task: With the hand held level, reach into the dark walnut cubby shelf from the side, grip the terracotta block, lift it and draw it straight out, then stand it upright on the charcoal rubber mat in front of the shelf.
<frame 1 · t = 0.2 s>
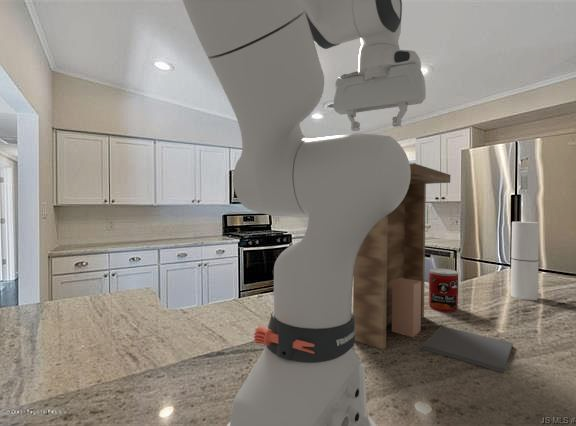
hand: (375, 128, 69), 47 cm above the countertop, tool pointing down, fingers open, 8 cm apart
block: (406, 306, 73), in the shelf
shelf: (406, 331, 73), on the countertop
cylindrical container: (523, 297, 102), on the countertop
mat: (468, 347, 65), on the countertop
canned food: (443, 308, 91), on the countertop
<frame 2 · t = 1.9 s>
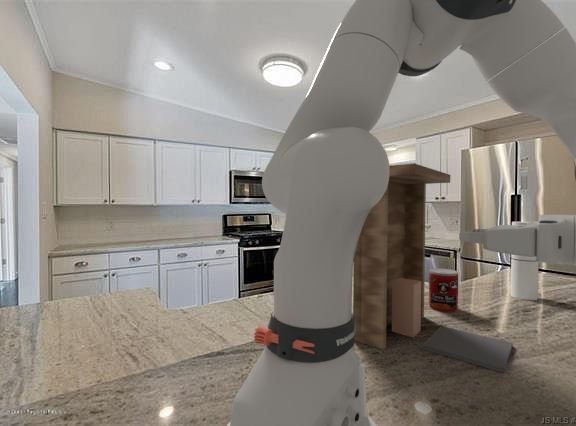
hand: (465, 234, 65), 24 cm above the countertop, tool horizontal, fingers open, 8 cm apart
nothing on the countertop moved.
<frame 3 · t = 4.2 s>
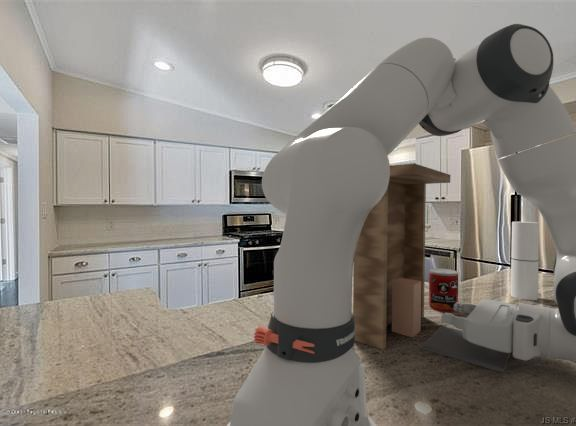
hand: (448, 311, 67), 7 cm above the countertop, tool horizontal, fingers open, 8 cm apart
nothing on the countertop moved.
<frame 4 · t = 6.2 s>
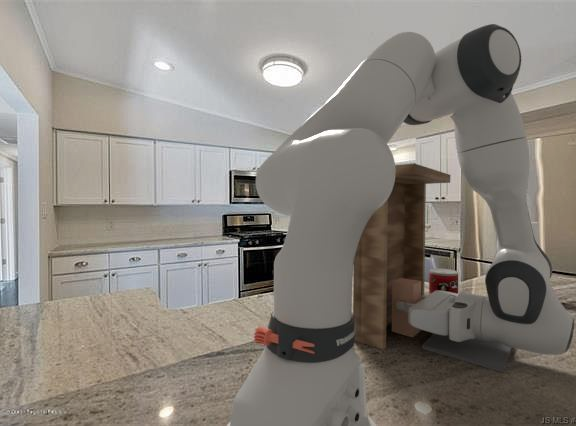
hand: (402, 301, 74), 7 cm above the countertop, tool horizontal, fingers closed on block, 5 cm apart
block: (406, 306, 73), in the shelf, touching gripper
everything else where it was.
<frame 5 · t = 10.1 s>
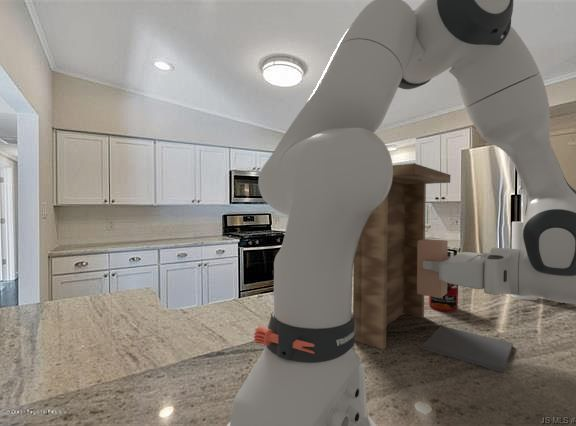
hand: (428, 262, 70), 17 cm above the countertop, tool horizontal, fingers closed on block, 5 cm apart
block: (432, 267, 69), point 16 cm above the countertop, touching gripper
everything else where it was.
when the fingers open (9 cm above the countertop, at t = 13.5 s): block drops 1 cm, resting on mat.
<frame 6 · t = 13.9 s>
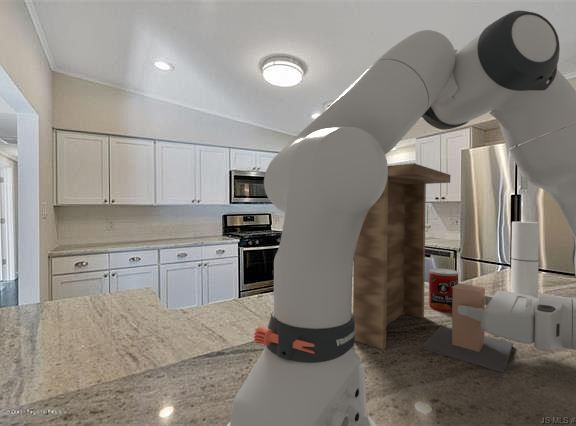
hand: (463, 303, 65), 9 cm above the countertop, tool horizontal, fingers open, 8 cm apart
block: (468, 315, 65), on the mat, point 7 cm above the countertop
everything else where it was.
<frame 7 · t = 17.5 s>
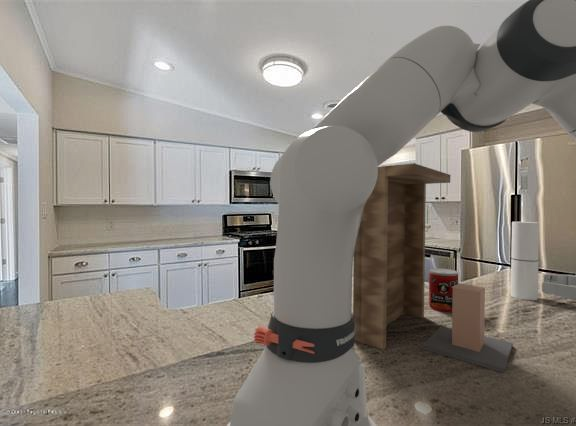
hand: (543, 282, 56), 16 cm above the countertop, tool horizontal, fingers open, 8 cm apart
nothing on the countertop moved.
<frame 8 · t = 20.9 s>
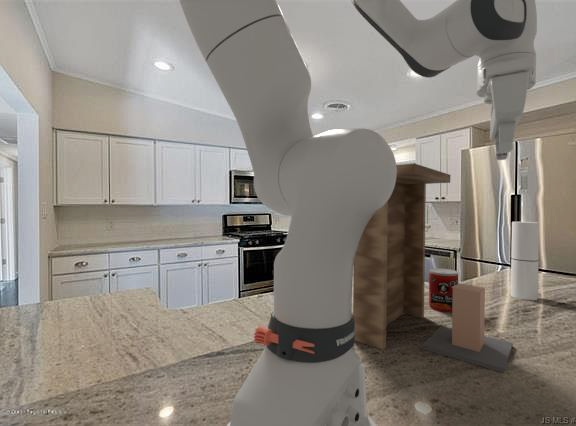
hand: (503, 156, 56), 39 cm above the countertop, tool pointing down, fingers open, 8 cm apart
nothing on the countertop moved.
at the end: block 0.1 cm from the mat (horizontally); block tilted 0°; block touching mat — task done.
